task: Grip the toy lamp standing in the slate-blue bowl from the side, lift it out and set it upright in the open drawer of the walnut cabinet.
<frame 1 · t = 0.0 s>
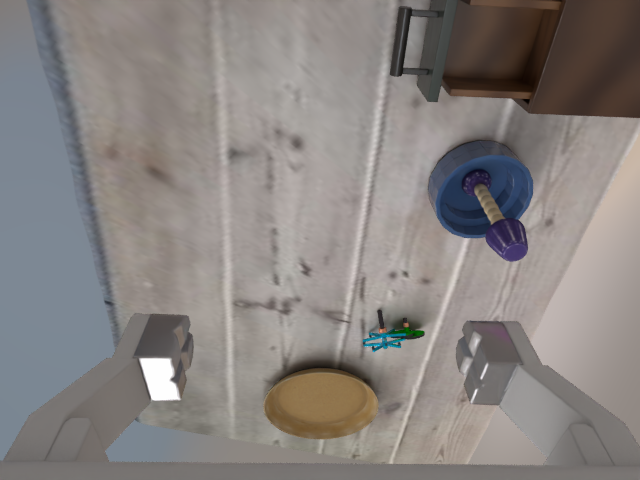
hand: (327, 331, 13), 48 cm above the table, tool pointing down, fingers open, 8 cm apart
bowl: (473, 182, 64), on the table
toy lamp: (473, 182, 64), resting on bowl
stick construction toy: (390, 320, 81), on the table
drawer: (471, 44, 50), point 4 cm above the table, slide at 10.5 cm
plant saucer: (320, 394, 94), on the table
cabinet: (577, 42, 53), on the table
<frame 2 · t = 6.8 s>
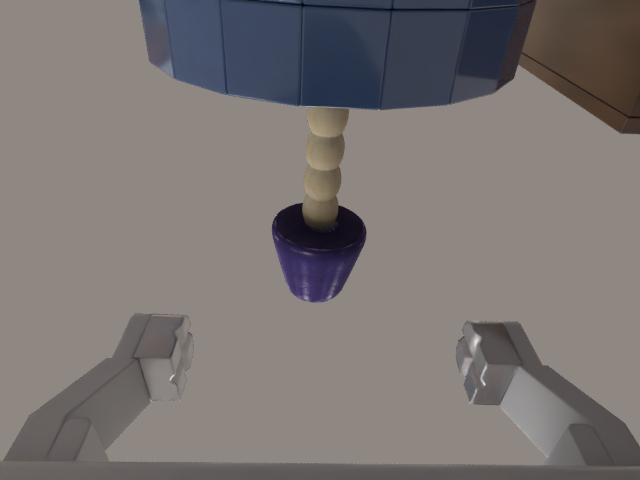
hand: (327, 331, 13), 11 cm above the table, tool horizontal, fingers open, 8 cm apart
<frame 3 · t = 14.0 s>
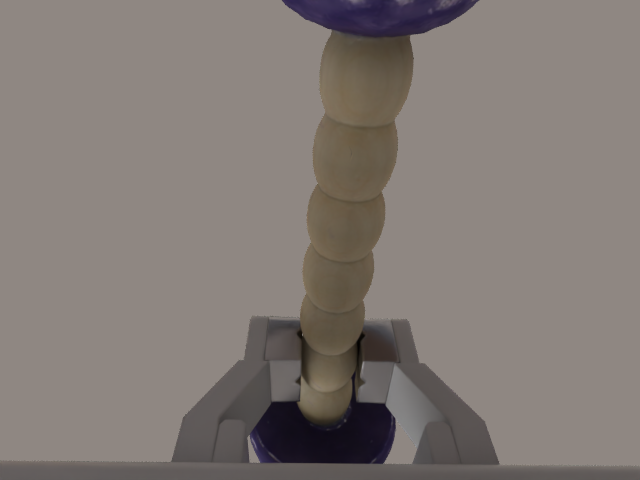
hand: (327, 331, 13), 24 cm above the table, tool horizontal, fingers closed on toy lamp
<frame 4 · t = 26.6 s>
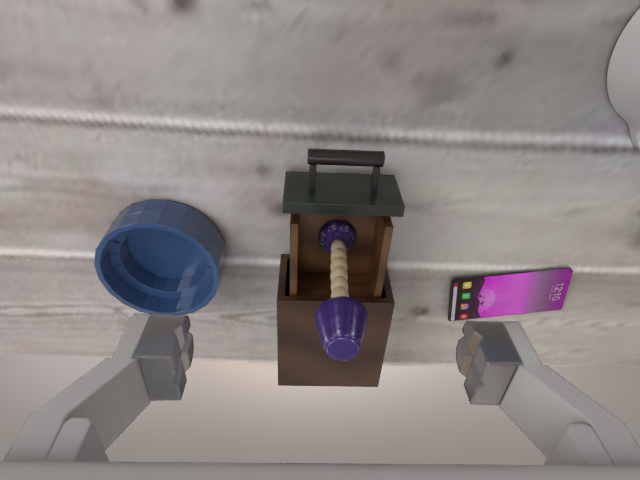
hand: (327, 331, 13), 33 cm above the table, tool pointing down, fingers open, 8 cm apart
smartphone: (505, 291, 57), on the table
bowl: (169, 246, 52), on the table
toy lamp: (335, 232, 49), point 2 cm above the table, touching drawer
drawer: (338, 226, 46), point 4 cm above the table, slide at 10.4 cm, touching toy lamp
cabinet: (329, 299, 57), on the table
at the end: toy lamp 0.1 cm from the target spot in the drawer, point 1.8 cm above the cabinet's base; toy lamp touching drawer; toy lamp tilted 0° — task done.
